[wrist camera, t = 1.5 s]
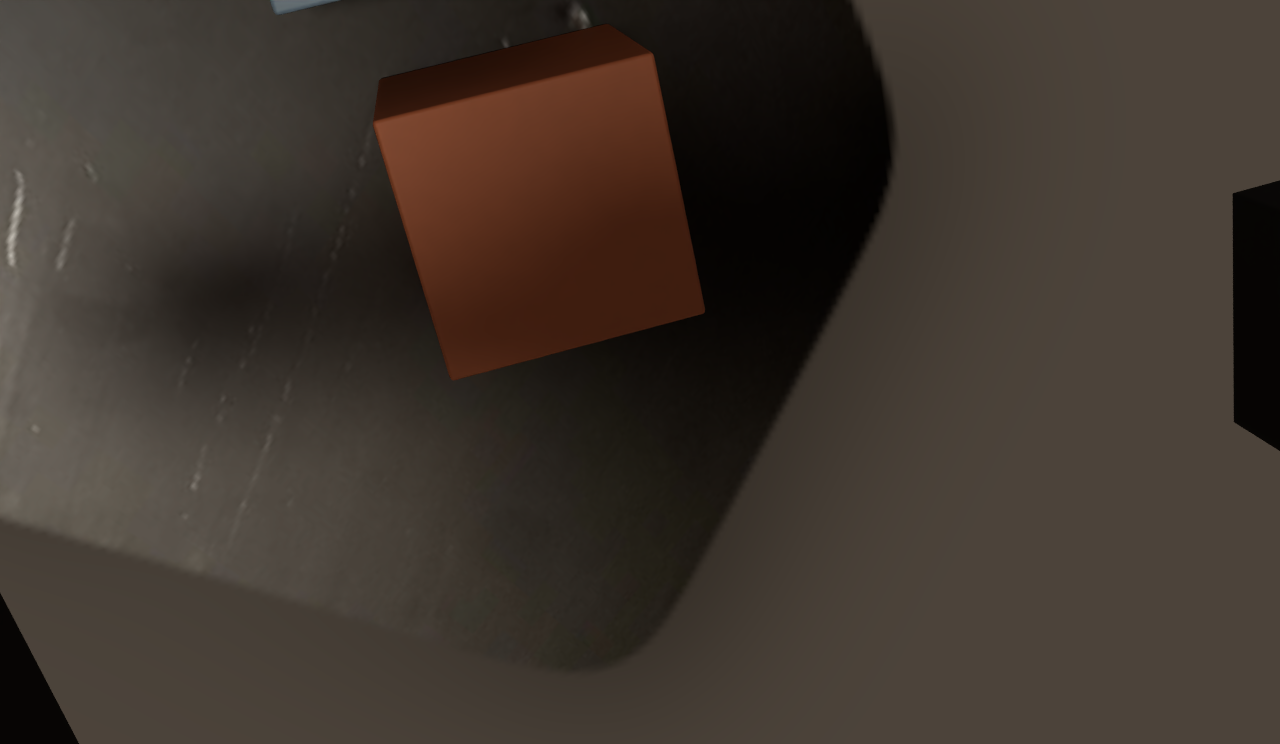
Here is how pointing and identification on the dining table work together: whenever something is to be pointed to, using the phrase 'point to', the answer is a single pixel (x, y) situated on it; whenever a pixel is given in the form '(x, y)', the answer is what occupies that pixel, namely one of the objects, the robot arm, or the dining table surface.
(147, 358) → the dining table surface
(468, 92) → the terracotta block
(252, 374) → the dining table surface
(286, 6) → the slate-blue block
